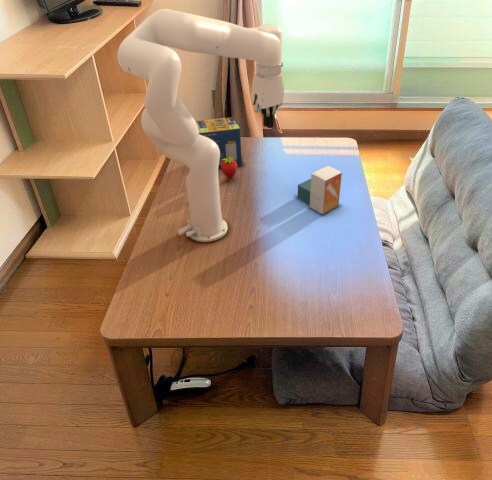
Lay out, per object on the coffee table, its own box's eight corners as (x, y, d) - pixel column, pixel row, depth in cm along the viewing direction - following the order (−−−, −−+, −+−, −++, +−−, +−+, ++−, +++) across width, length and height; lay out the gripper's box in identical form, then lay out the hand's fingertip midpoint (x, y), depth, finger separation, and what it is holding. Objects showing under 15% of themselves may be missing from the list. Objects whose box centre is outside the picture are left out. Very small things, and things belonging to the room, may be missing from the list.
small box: (323, 215, 160) (325, 180, 152) (309, 207, 164) (310, 173, 156) (339, 205, 165) (342, 172, 157) (325, 198, 168) (327, 164, 160)
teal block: (309, 204, 165) (310, 191, 162) (297, 197, 169) (297, 184, 166) (321, 197, 169) (322, 185, 165) (309, 191, 172) (310, 178, 169)
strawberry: (221, 185, 174) (219, 160, 168) (222, 174, 180) (220, 150, 174) (238, 184, 175) (236, 159, 168) (238, 174, 181) (237, 149, 174)
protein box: (197, 158, 190) (193, 121, 180) (236, 153, 193) (234, 116, 184) (202, 171, 182) (198, 133, 172) (242, 165, 186) (240, 127, 176)
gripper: (279, 62, 155) (278, 117, 166) (241, 70, 147) (243, 128, 157) (295, 67, 150) (293, 124, 161) (257, 77, 142) (257, 136, 153)
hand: (268, 126), depth 159 cm, fingers closed
